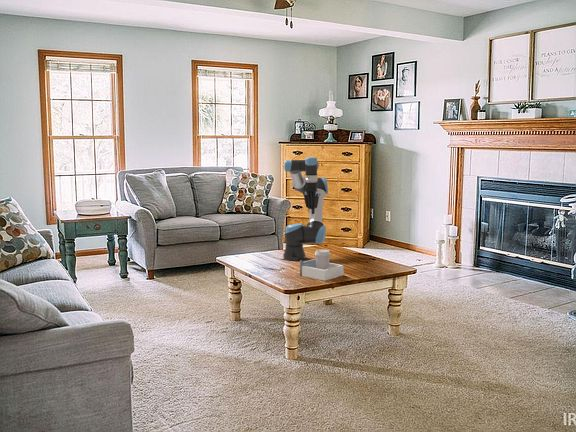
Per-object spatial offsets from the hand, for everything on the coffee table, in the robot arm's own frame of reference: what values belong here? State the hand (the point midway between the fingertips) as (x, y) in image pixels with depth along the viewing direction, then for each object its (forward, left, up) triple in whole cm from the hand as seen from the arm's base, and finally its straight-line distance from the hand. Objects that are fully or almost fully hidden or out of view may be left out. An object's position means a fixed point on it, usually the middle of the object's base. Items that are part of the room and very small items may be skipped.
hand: (311, 218), depth 362 cm
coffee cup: (+25, -19, -30) cm, 43 cm away
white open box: (+25, -19, -29) cm, 43 cm away
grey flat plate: (+15, -19, -29) cm, 38 cm away
